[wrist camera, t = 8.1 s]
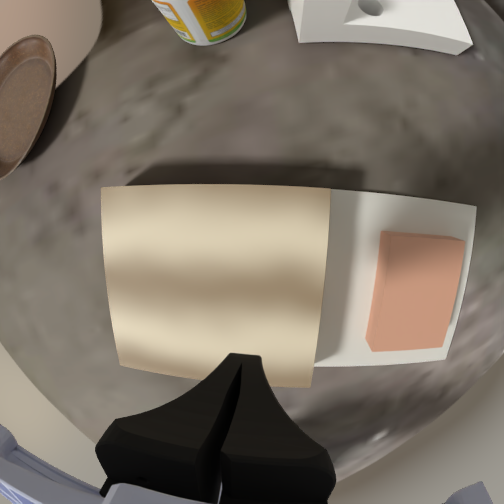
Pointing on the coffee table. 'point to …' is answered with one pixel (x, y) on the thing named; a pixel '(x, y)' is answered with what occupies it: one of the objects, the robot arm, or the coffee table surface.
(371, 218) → the mat
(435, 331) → the tile
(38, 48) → the saucer
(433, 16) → the bracket
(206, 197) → the beige flat block
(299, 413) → the coffee table surface
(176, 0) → the supplement bottle
